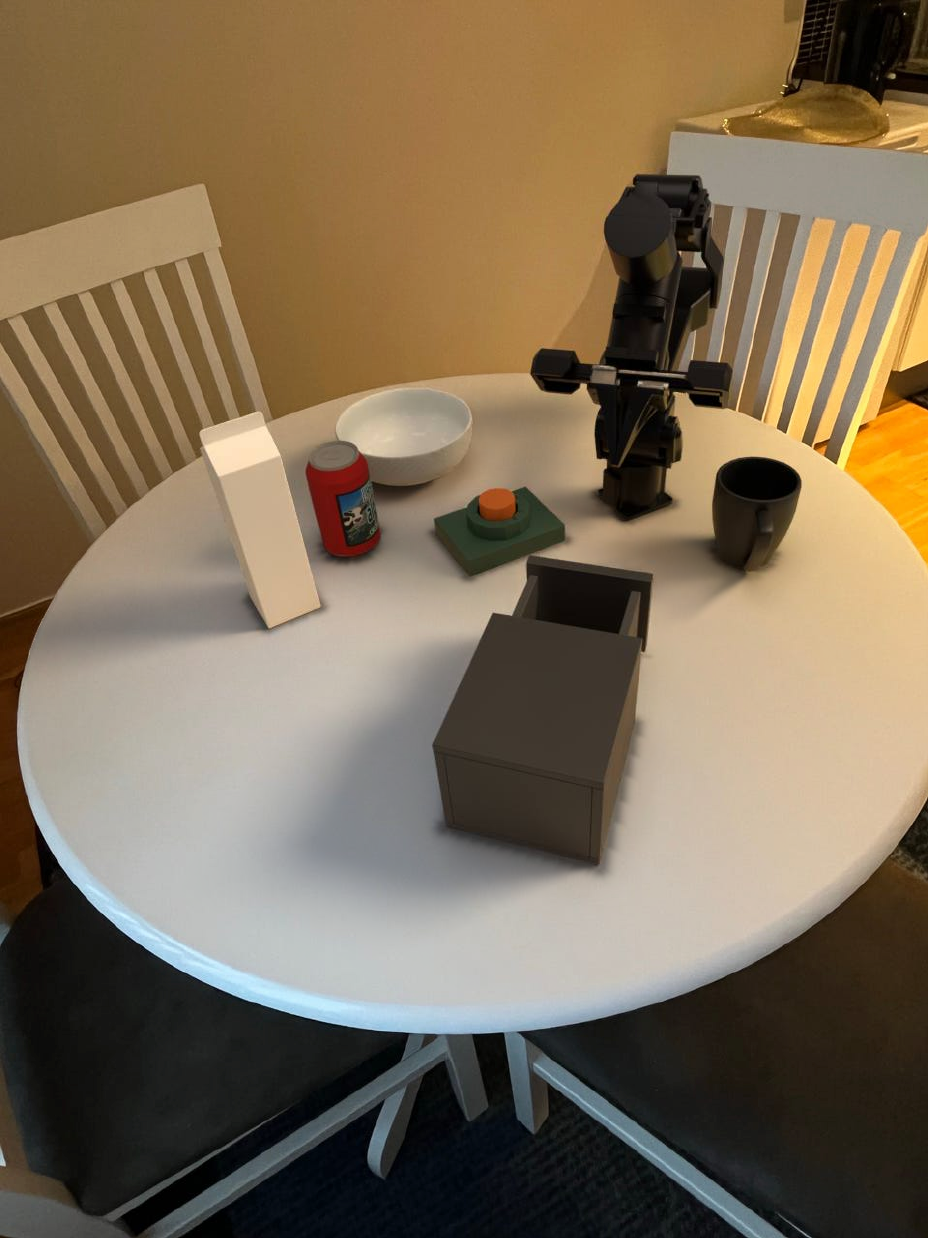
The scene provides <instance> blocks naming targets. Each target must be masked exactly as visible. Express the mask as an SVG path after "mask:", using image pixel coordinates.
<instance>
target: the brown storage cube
mask: <svg viewBox="0 0 928 1238" xmlns="http://www.w3.org/2000/svg"><path fill="white" fill-rule="evenodd" d="M641 649H642V638H638V637H632V636H626V635H620V634H615V633H609V632H603V631H597V630H591V629H586V628H580V627H574V626H568V625H562V624H557V623H551V622H545V621H539V620H533V619H527V618H522V617H516V616H512V615H509V614H504V613H498V612H492V613H491V616H490V618H489V620H488V622H487V623H486V626H485V629H484V630H483V633H482V635H481V637H480V639H479V642H478V644H477V646H476V648H475V650H474V652H473V655H472V657H471V659H470V661H469V664H468V665H467V668H466V670H465V672H464V674H463V677H462V679H461V681H460V683H459V685H458V687H457V690H456V692H455V694H454V695H453V698H452V699H451V702H450V705H449V707H448V709H447V711H446V713H445V716H444V718H443V720H442V721H441V724H440V727H439V728H438V731H437V733H436V736H435V738H434V740H433V742H432V751H433V757H434V763H435V764H434V765H435V769H436V776H437V781H438V787H439V794H440V800H441V804H442V810H443V817H444V822H445V826H446V827H448V828H452V829H457V830H459V831H463V832H467V833H472V834H476V835H480V836H482V837H483V836H484V837H488V838H492V839H495V840H500V841H503V842H507V843H510V844H511V843H512V844H515V845H519V846H523V847H527V848H531V849H534V850H538V851H543V852H546V853H550V854H554V855H557V856H562V857H566V858H569V859H573V860H577V861H582V862H585V863H589V864H594V865H597V866H599V865H600V864H601V860H602V856H603V853H604V849H605V844H606V841H607V836H608V832H609V828H610V825H611V822H612V821H611V820H612V816H613V812H614V808H615V804H616V800H617V797H618V792H619V788H620V785H621V784H620V783H621V780H622V777H623V773H624V769H625V764H626V760H627V757H628V752H629V748H630V744H631V740H632V736H633V733H634V732H633V731H634V729H635V723H636V713H637V704H638V691H639V680H640V669H641V659H642V658H641V657H642V652H641Z"/></svg>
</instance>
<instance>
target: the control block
mask: <svg viewBox="0 0 928 1238" xmlns="http://www.w3.org/2000/svg"><path fill="white" fill-rule="evenodd" d="M510 491H511V492H512V493H513V494H514V495H515V505H516V512H515V514H514V516H513V517H511V518H508V519H505V520H503V521H490V520H487V519H484V518H483V517H482V516H481V515H480V508H479V497H480V495H481V494H478V495H476V496H475V497H474V498H473V499H472V500H471V501H469V502H468V503H467V505H466V507H462V508H460V509H457V510H455V511H451V512H448V513H446V514H443V515H440V516H438V517H435V518H433V522H434V530H435V535H436V536H437V537H438V538H439V540H440V541H441V542H442V543H443V545H444V546H445V547H446V549H447V550H448V551H449V552H450V553H451V554H452V556H453V557H454V558H455V560H456V561H457V562H458V563H459V565H460V566H461V567H462V568H463V570H464V571H465V572H466V574H467V575H468V576H469V577H472V576H475V575H477V574H480V573H482V572H485V571H488V570H490V569H493V568H496V567H499V566H501V565H504V564H506V563H509V562H512V561H514V560H517V559H520V558H522V557H525V556H528V555H531V554H533V553H535V552H538V551H540V550H543V549H546V548H548V547H551V546H554V545H556V544H559V543H561V542H564V541H566V524H565V523H564V522H563V521H562V520H560V518H559V517H558V516H557V515H555V514H554V513H553V511H551V509H549V508H548V507H547V505H545V504H544V502H542V501H541V500H540V499H539V497H537V496H536V495H535V494H534V493H533V492H532V491H531V490H530V489H529V488H528V487H527V486H522V487H520V488H517V489H514V490H510Z"/></svg>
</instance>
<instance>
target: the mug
mask: <svg viewBox="0 0 928 1238" xmlns="http://www.w3.org/2000/svg"><path fill="white" fill-rule="evenodd" d="M802 484H803V482H802V478H801V476H800V473H799V472H798V471H797V470H796V469H795V468H794V467H792V466H791V465H789V464H787V463H785V462H784V461H780V460H777V459H774V458H770V457H764V456H744V457H743V456H742V457H737V458H734V459H731V460H729V461H727V462H725V463H724V464H722V465H721V466H720V467H719V468H718V470H717V472H716V474H715V481H714V486H713V487H714V488H713V493H712V502H711V514H712V526H713V533H714V538H715V543H716V546H717V547H716V548H717V554H718V556H719V558H720V559H721V560H722V561H723V562H724V563H726V564H727V565H730V566H732V567H734V568H738V569H743V570H744V571H745V572H749V573H753V572H756V571H758V570H759V569H760V568H761V567H764V566H765V565H767V564H768V563H769V562H770V561H771V560H772V557H773V556H774V554H775V553H776V551H777V549H778V548H779V546H780V545H781V543H782V542H783V540H784V538H785V536H786V534H787V533H788V531H789V528H790V526H791V524H792V522H793V519H794V517H795V514H796V512H797V509H798V508H797V507H798V503H799V500H800V495H801V490H802Z"/></svg>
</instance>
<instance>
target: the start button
mask: <svg viewBox="0 0 928 1238" xmlns="http://www.w3.org/2000/svg"><path fill="white" fill-rule="evenodd" d="M511 491H512V490H509V489H507V488H502V487H496V488H489V489H487V490H485V491H483V492H481V494H479V495H480V497H479V508H480V515H481V516H482V517H483V518H484V519H487V520H490V521H503V520H505V519H508V518H511V517H513V516H514V514H515V512H516V505H515V495H514V494H513V493H512V492H511Z"/></svg>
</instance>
